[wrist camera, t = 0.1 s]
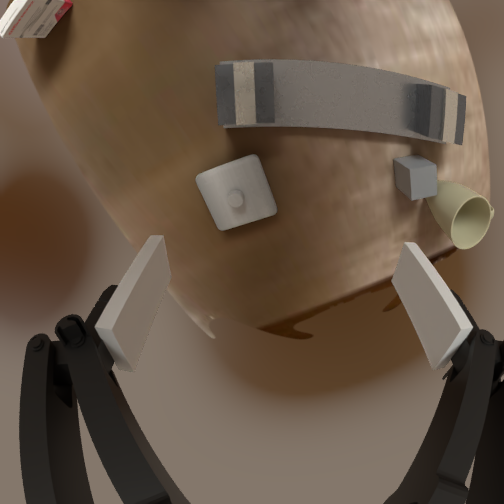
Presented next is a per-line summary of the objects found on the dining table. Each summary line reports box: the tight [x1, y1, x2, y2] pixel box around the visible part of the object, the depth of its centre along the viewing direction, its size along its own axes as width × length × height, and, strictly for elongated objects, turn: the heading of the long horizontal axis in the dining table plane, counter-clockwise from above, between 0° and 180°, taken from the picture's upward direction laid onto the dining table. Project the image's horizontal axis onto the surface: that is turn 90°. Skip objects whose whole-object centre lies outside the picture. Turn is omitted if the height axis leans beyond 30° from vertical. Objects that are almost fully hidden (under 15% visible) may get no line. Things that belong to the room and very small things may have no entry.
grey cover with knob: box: [196, 154, 277, 231], centre depth 40 cm, size 10×10×5 cm
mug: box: [426, 180, 494, 249], centre depth 35 cm, size 11×10×12 cm
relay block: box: [393, 155, 437, 201], centre depth 36 cm, size 5×5×6 cm
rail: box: [215, 59, 466, 145], centre depth 31 cm, size 10×36×7 cm, turn 92°
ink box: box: [0, 0, 73, 38], centre depth 18 cm, size 8×5×12 cm, turn 125°
